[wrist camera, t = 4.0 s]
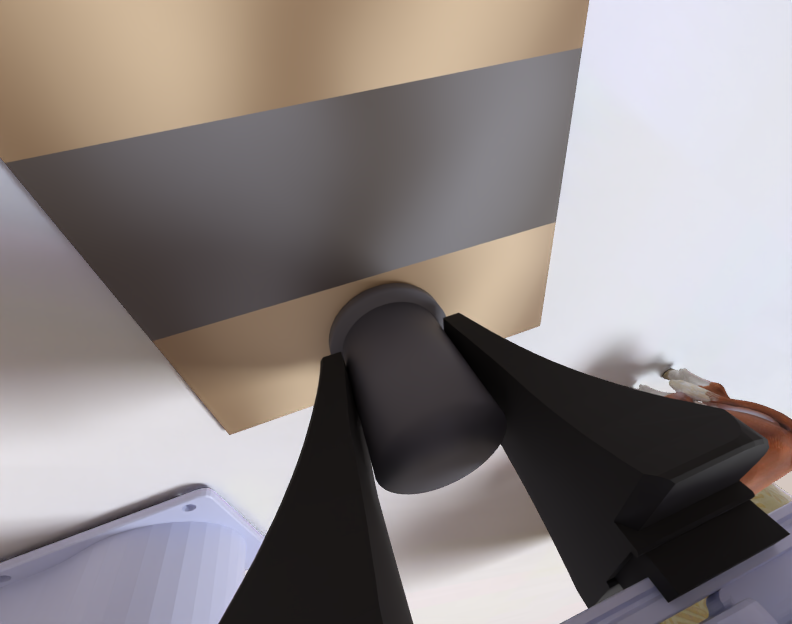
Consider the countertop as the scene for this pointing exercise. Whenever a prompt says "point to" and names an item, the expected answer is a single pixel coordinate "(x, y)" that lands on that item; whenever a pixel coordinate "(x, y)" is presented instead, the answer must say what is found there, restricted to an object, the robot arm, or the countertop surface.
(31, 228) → the countertop surface
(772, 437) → the bull figurine
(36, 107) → the track board
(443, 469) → the dark grey rounded knob
